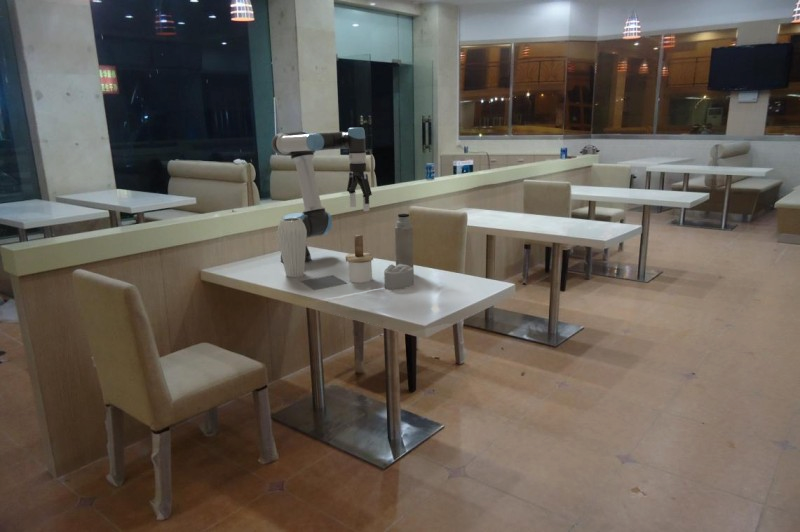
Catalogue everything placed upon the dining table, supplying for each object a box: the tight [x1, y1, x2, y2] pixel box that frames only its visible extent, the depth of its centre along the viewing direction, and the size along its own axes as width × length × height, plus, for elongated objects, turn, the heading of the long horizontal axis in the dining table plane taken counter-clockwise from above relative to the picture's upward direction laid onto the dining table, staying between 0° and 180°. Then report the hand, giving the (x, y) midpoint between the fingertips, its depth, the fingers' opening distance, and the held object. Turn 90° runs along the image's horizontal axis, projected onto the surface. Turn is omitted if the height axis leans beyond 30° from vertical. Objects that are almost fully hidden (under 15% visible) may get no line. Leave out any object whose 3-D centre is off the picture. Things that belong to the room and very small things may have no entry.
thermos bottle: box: [394, 213, 415, 276], centre depth 253 cm, size 8×8×28 cm
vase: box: [276, 218, 307, 278], centre depth 256 cm, size 13×13×26 cm
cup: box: [347, 261, 373, 284], centre depth 247 cm, size 10×10×10 cm
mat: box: [299, 274, 349, 291], centre depth 246 cm, size 16×16×1 cm
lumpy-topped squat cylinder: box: [383, 263, 415, 291], centre depth 240 cm, size 10×13×9 cm
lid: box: [345, 234, 374, 263], centre depth 245 cm, size 12×12×10 cm
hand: (359, 209), depth 261 cm, fingers open, 13 cm apart
